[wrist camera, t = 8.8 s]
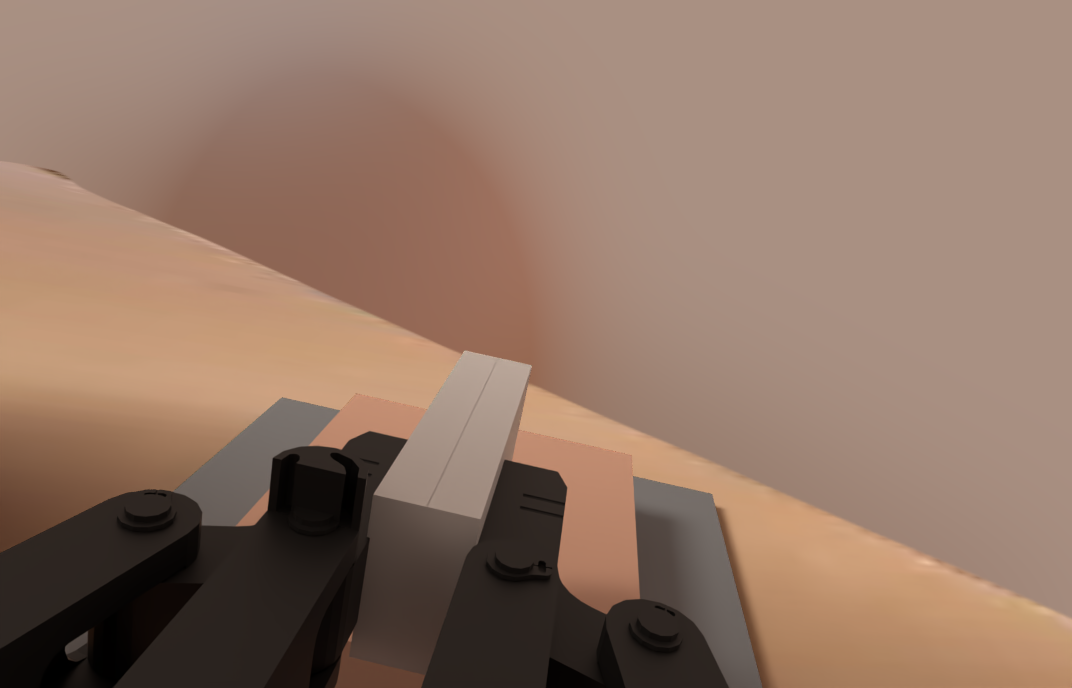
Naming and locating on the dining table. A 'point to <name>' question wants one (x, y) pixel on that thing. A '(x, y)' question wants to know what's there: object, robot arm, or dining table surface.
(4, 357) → the dining table surface
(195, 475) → the slate mat
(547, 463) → the terracotta tile
